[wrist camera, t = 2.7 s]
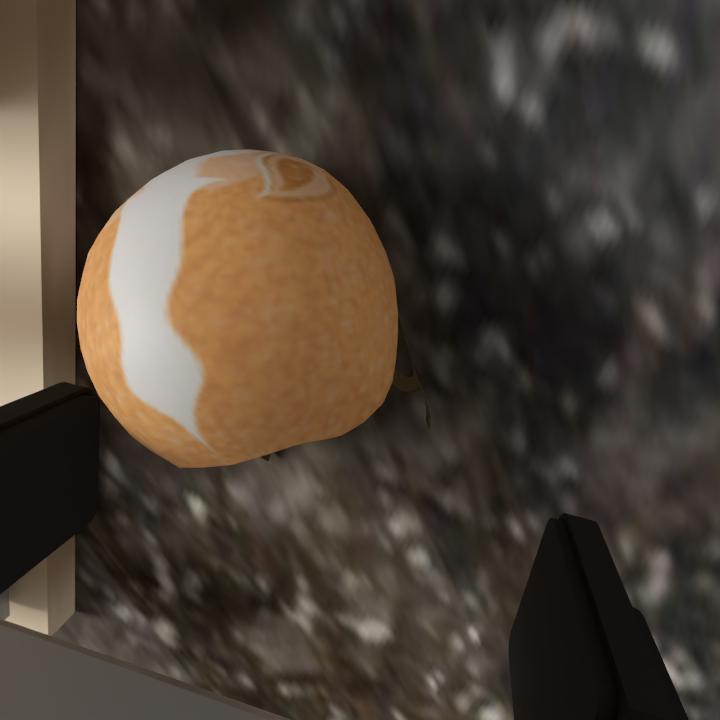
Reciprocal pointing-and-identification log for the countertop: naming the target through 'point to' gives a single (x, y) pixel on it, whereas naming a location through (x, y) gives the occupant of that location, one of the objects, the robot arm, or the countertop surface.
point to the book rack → (38, 246)
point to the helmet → (240, 310)
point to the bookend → (4, 605)
